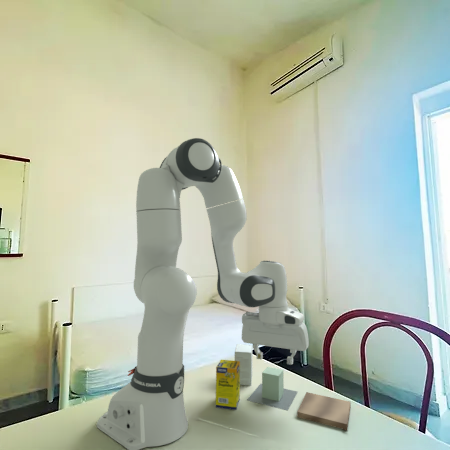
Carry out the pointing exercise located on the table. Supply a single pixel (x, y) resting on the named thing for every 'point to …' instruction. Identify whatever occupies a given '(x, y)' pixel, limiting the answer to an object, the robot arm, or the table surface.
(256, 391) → the gray tile
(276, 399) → the sage block
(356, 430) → the table surface
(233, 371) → the supplement box
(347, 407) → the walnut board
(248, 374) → the small box
